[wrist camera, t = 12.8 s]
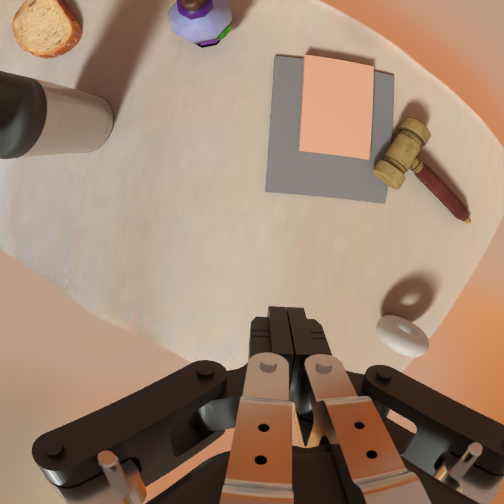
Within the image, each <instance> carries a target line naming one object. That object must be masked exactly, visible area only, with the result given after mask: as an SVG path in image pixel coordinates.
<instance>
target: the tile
mask: <svg viewBox="0 0 504 504" xmlns="http://www.w3.org/2000/svg"><path fill="white" fill-rule="evenodd" d="M373 83H374V67H373V66H369V65H364V64H359V63H354V62H349V61H344V60H338V59H332V58H326V57H319V56H312V55H304V57H303V73H302V92H301V109H300V124H299V139H298V151H301V152H311V153H320V154H328V155H336V156H344V157H351V158H358V159H365V160H369V157H370V144H371V130H372V112H373Z"/></svg>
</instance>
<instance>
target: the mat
mask: <svg viewBox="0 0 504 504" xmlns="http://www.w3.org/2000/svg"><path fill="white" fill-rule="evenodd" d="M302 73H303V59H301V58H292V57H282V56H275V58H274V74H273V89H272V105H271V120H270V135H269V149H268V164H267V178H266V192H274V193H287V194H299V195H310V196H321V197H331V198H341V199H350V200H359V201H367V202H376V203H384V204H385V201H386V193H387V184H385V183H384V182H383V181H381V180H380V179H379V178H378V177H377V176H376V175H375V174H374V173H373V169H374V167H375V166H376V164H377V162H378V161H379V160H383V159H384V158H385V154H386V152H387V151H388V149H389V148H390V146H391V140H392V124H393V100H394V76H393V75H389V74H385V73H380V72H376V71H374V83H373V112H372V130H371V144H370V157H369V160H365V159H358V158H351V157H344V156H336V155H328V154H320V153H311V152H301V151H298V139H299V124H300V109H301V92H302Z"/></svg>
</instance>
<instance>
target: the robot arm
mask: <svg viewBox="0 0 504 504" xmlns="http://www.w3.org/2000/svg"><path fill="white" fill-rule="evenodd" d="M112 127H113V113H112V109H111V107H110V105H109V104H108V102H107V101H106V100H104V99H103V98H101V97H99V96H95V95H92V94H89V93H86V92H82V91H79V90H75V89H72V88H68V87H65V86H61V85H57V84H53V83H50V82H45V81H41V80H37V79H33V78H29V77H24V76H19V75H15V74H11V73H6V72H3V71H0V158H1V159H10V158H18V157H28V156H38V155H50V154H65V153H83V152H91V151H94V150H96V149H98V148H99V147H101V146H102V145H103V144H104V143H105V141H106V140H107V139H108V137H109V135H110V133H111V130H112ZM292 402H295V411H294V416H293V417H294V423H295V427H296V432H297V436H298V440H299V445H300V447H297V446H292ZM390 409H392V410H393V411H395V412H396V413H398V414H400V415H402V416H403V417H405V418H407V419H409V420H410V421H412V422H413V423H414V424H415V425H416V427H417V433H416V434H414V433H412V432H410V431H408V430H407V429H405V428H403V427H402V426H400V425H398V424H396V423H395V422H393V421H391V420H390V419H388V418H387V415H388V413H389V411H390ZM229 428H235V431H234V436H233V441H232V447H231V451H228V452H224V453H221V454H218V455H216V456H214V457H211V458H209V459H208V460H206V461H204V462H203V463H201V464H200V465H199V466H197V467H196V468H195V469H193V470H192V471H191V472H189V473H188V474H187V475H185V476H184V477H183V478H181V479H180V480H179V481H177V482H176V483H174V484H173V485H172V486H170V487H169V488H168V489H166V490H165V491H163V492H162V493H160V494H159V495H157V496H156V497H155V498H153V499H152V500H150V501H149V502H147V503H146V504H492V501H493V500H494V498H495V495H496V493H497V491H498V489H499V487H500V484H501V482H502V479H503V477H504V425H503V424H501V423H498V422H496V421H494V420H492V419H490V418H488V417H486V416H484V415H482V414H480V413H478V412H476V411H474V410H472V409H470V408H468V407H466V406H464V405H462V404H460V403H458V402H456V401H454V400H452V399H450V398H449V397H447V396H445V395H443V394H441V393H439V392H437V391H435V390H433V389H431V388H429V387H427V386H426V385H424V384H422V383H420V382H418V381H416V380H414V379H412V378H410V377H408V376H406V375H405V374H403V373H401V372H399V371H397V370H395V369H394V368H391V367H389V366H385V365H374V366H371V367H369V368H368V369H367V370H366V373H365V375H363V374H358V373H353V372H349V371H346V370H345V369H344V367H343V364H342V363H341V362H340V361H339V360H338V359H337V358H335V357H333V356H332V354H331V351H330V348H329V345H328V342H327V340H326V337H325V334H324V331H323V328H322V325H320V324H319V323H318V322H317V321H316V320H315V319H307V318H306V315H305V311H304V308H295V307H274V306H269V307H268V315H267V317H255V318H254V320H253V321H252V322H251V329H250V342H249V360H248V363H247V364H246V365H245V366H243V367H241V368H239V369H235V370H230V371H226V369H225V367H223V366H222V365H221V364H219V363H217V362H214V361H209V360H202V361H196V362H193V363H191V364H189V365H187V366H186V367H184V368H182V369H180V370H178V371H176V372H174V373H172V374H170V375H168V376H167V377H165V378H163V379H161V380H159V381H157V382H155V383H153V384H151V385H149V386H147V387H145V388H143V389H141V390H139V391H137V392H135V393H133V394H131V395H129V396H127V397H125V398H123V399H121V400H118V401H116V402H114V403H112V404H110V405H108V406H106V407H104V408H102V409H99V410H98V411H95V412H93V413H91V414H88V415H86V416H84V417H82V418H80V419H77V420H75V421H73V422H70V423H68V424H66V425H64V426H62V427H59V428H57V429H54V430H52V431H49V432H47V433H45V434H43V435H41V436H40V437H38V439H36V441H35V442H34V444H33V447H32V455H33V458H34V460H35V462H36V463H37V464H38V466H39V467H40V469H41V470H42V472H43V473H44V476H45V478H46V479H47V480H48V482H49V483H50V484H51V486H52V487H53V488H54V489H55V491H56V492H57V493H58V494H59V496H60V497H61V498H62V499H63V500H65V501H66V502H67V504H143V502H144V501H145V499H146V495H147V492H146V488H145V487H146V486H148V485H149V484H151V483H153V482H154V481H156V480H158V479H159V478H161V477H162V476H164V475H166V474H167V473H169V472H170V471H172V470H173V469H175V468H176V467H178V466H179V465H181V464H182V463H184V462H185V461H187V460H188V459H190V458H191V457H193V456H194V455H195V454H197V453H198V452H200V451H201V450H202V449H204V448H205V447H207V446H208V445H210V444H211V443H212V442H214V441H215V440H216V439H218V438H219V437H220V436H221V435H223V434H224V432H225V429H229Z"/></svg>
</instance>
